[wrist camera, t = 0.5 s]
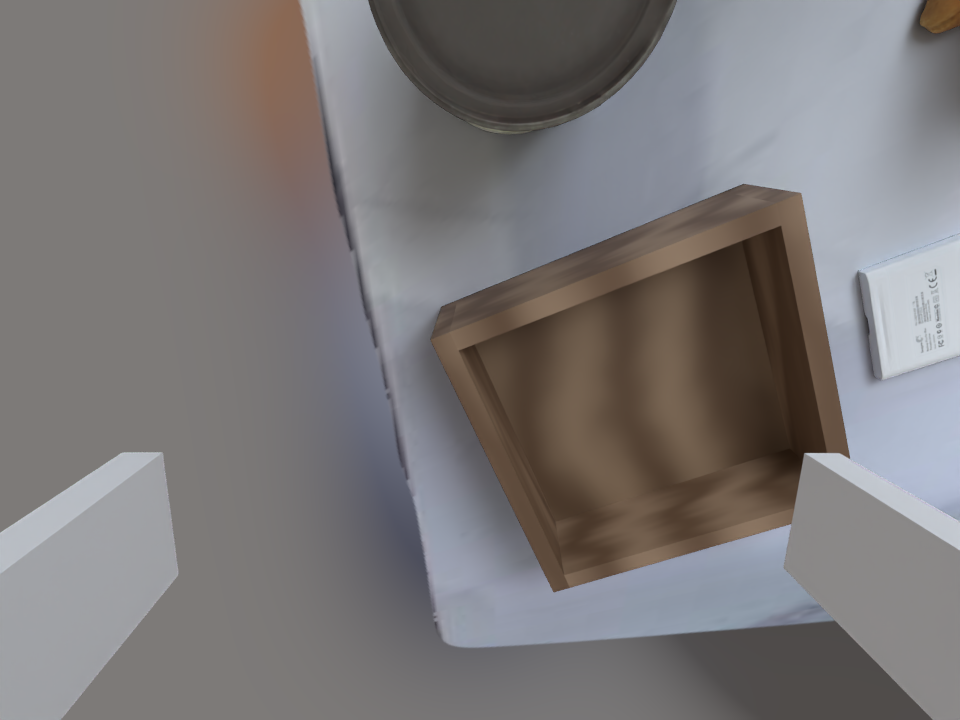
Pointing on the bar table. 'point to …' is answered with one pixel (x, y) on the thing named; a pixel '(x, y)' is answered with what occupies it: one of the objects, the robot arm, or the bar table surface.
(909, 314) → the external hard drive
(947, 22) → the stuffed squirrel
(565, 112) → the coffee can
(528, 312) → the walnut box
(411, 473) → the bar table surface
